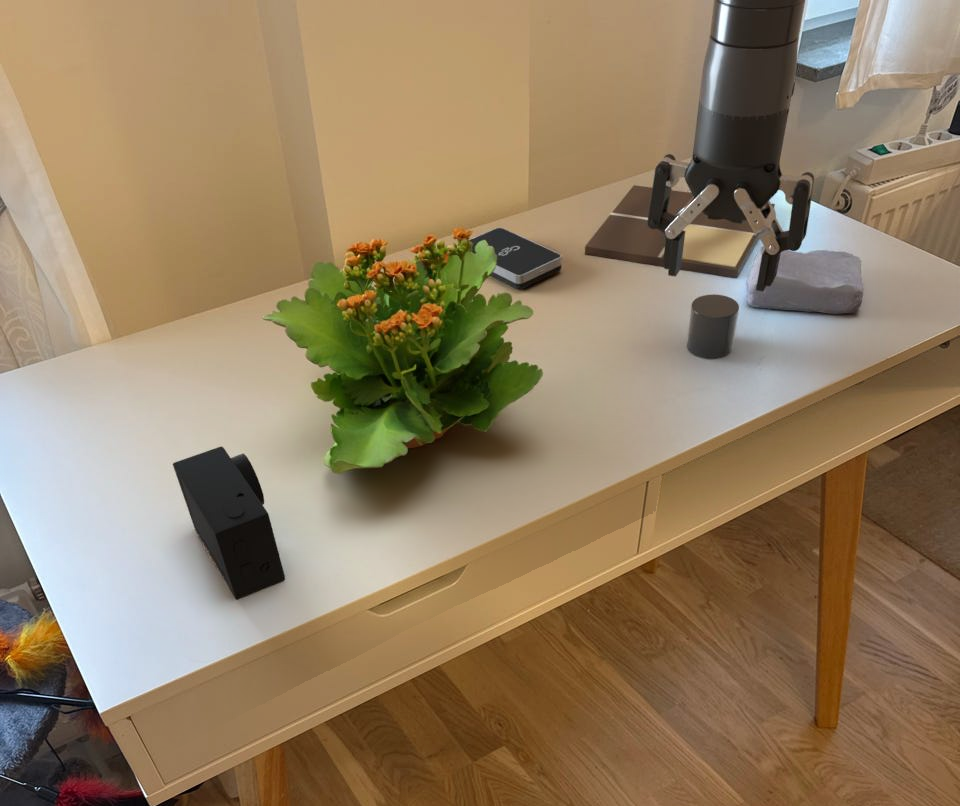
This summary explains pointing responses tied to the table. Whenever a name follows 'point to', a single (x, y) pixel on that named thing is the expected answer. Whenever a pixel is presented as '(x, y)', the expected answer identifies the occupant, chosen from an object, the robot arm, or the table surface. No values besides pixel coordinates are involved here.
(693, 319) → the dark grey cylinder
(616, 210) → the board
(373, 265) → the potted flower
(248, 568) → the digital camera
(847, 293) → the block
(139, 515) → the table surface
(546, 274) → the external hard drive
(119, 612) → the table surface
